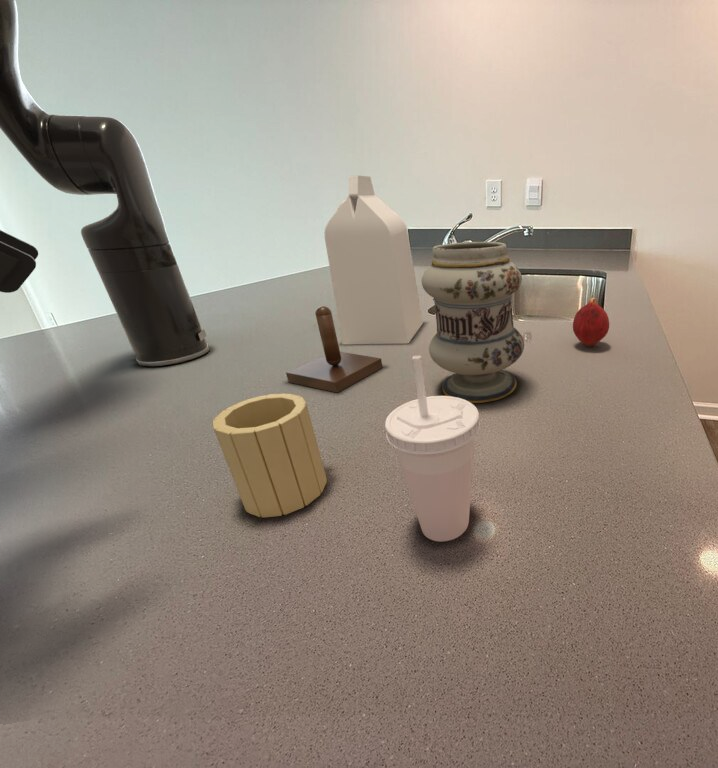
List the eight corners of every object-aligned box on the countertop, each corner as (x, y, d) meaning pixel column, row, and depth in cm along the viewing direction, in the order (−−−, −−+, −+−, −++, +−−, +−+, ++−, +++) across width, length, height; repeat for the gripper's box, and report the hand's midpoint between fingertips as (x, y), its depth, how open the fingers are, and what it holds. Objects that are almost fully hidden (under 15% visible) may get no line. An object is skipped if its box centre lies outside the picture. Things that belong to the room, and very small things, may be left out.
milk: (408, 343, 70) (385, 174, 59) (342, 344, 70) (306, 175, 59) (423, 322, 81) (405, 176, 70) (365, 323, 81) (339, 178, 70)
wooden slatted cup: (227, 504, 34) (193, 423, 31) (291, 462, 39) (268, 388, 36) (281, 526, 32) (250, 440, 28) (341, 478, 37) (322, 400, 34)
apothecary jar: (474, 362, 62) (465, 237, 54) (541, 380, 55) (543, 241, 48) (414, 392, 53) (394, 247, 45) (486, 417, 46) (477, 254, 39)
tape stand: (288, 382, 56) (268, 312, 52) (337, 359, 64) (323, 296, 60) (337, 392, 53) (320, 318, 49) (382, 367, 61) (371, 301, 56)
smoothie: (409, 498, 34) (384, 342, 28) (485, 492, 35) (476, 338, 29) (396, 559, 29) (361, 380, 23) (487, 552, 29) (476, 374, 23)
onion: (607, 353, 64) (611, 303, 60) (570, 351, 65) (572, 302, 61) (607, 341, 69) (611, 294, 66) (573, 339, 70) (575, 293, 67)
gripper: (-1064, -403, 8) (77, 221, 20) (-464, -72, 17) (66, 217, 29) (-1598, -140, 6) (-28, 352, 19) (-637, 64, 15) (-5, 305, 28)
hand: (29, 270), depth 24 cm, fingers open, 8 cm apart
